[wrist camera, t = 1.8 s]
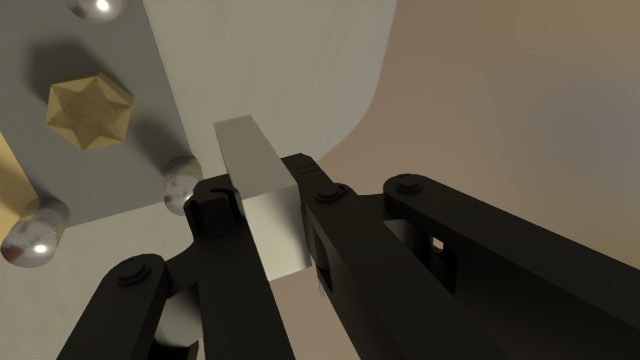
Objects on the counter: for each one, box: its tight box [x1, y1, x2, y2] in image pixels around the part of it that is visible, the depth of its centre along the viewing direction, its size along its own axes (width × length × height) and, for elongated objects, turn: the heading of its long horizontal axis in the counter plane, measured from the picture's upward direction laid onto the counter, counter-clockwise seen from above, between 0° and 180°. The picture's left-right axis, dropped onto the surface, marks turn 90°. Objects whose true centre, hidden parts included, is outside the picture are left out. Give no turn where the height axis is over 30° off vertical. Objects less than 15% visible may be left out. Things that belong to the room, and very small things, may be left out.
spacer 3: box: [164, 156, 204, 216], centre depth 28 cm, size 3×3×5 cm
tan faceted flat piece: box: [45, 70, 135, 151], centre depth 24 cm, size 5×4×2 cm
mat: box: [0, 0, 193, 246], centre depth 25 cm, size 15×17×1 cm
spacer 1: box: [1, 197, 71, 268], centre depth 26 cm, size 3×3×5 cm
